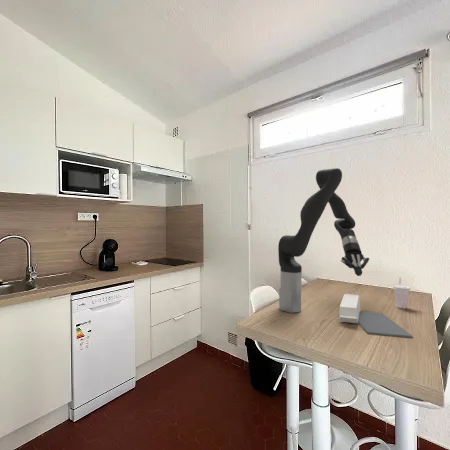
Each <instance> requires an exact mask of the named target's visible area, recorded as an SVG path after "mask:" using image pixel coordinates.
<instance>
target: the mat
mask: <svg viewBox="0 0 450 450" xmlns="http://www.w3.org/2000/svg"><path fill="white" fill-rule="evenodd" d="M357 324H358V325H359V326H360V328H362V330H363V331H364V332H365V333H366V334H367V335H373V336H376V335H377V336H384V337H385V336H386V337H387V336H389V337H396V338H397V337H399V338H409V339H410V338H411V339H412V338H414V337H413V335H412V334H411V333H409V332H408V331H407V330H406V329H404V328H403V327H401V326H400V325H399V324H398V323H396V322H395V321H393V319H392V318H390V317H388V316H387V315H386V314H384V313H382V312H371V311H369V312H368V311H360V313H359V319H358V323H357Z"/></svg>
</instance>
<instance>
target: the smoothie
mask: <svg viewBox="0 0 450 450" xmlns="http://www.w3.org/2000/svg"><path fill="white" fill-rule="evenodd" d="M398 279H399V281H398V282H399V284H395V285H393V286H392V287H393V290H394V292H393V293H394V297H395V305H396V308H398V309H404V310H405V309H407V306H408V299H409V292H410V291H411V287H409V286H407V285H402V277H401V276H400V277H399V278H398Z"/></svg>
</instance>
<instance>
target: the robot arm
mask: <svg viewBox="0 0 450 450" xmlns="http://www.w3.org/2000/svg"><path fill="white" fill-rule="evenodd" d="M342 178H343V172H342V170H341V169H340V168H338V167H330V168H322V169H319V170H318V171H316V175H315V181H316V185H317V186H318V188H319V189H318V191H316V192H315V193H313V194H312V195H311V196H309V197H308V198H307V199H306V201H305V202H304V204H303V206H302V208H301V210H300V223H301V224H300V227H299V229H298V230H297V233H296V234H295V235H288V234H287V235H285V234H284V235H283V236H282V237H281V238H280V239H279V241H278V246H277V247H278V249H277V251H278V252H277V253H278V254H277V255H278V265H279V267H280V273H279V274H280V276H279V277H280V282H279V284H280V285H279V287H280V288H279V290H278V291H279V295H278V296H279V299H278V305H279V306H278V307H279V308H278V309H279V310H280V311H283V312H287V313H289V314H294V313H300V312H301V311H302V272H303V270H302V268H303V267H302V265H301V264H300V263H298V261H297V260H296V259H295V258H296V257H297V258H299V257H301V256H302V255H304V254H305V252H306V250H307V247H308V246H309V242H310V239H311V237H312V235H313V232H314V230H315V228H316V226H317V225H318V223H319V220H320V219H321V217H322V214H323V213H324V211H325V209H326V207H327V205H328V204H329V206H330V209H331V212H332V214H333V216H334V217H335V219H336V220H335V221H334V222H333V226H334V229H335V230H336V232H337V233H338V234H339V235H340V238H341V245H342V248H343V252H344V256H342V257H341V259H340V262H342V263H343V264H344V265H345V266H346V267H348V268H349V269H353V272H354V274H355V275H356V276H357V277H360V276H362V275H363V270H362V269H364V268H365V267H366V266H367V264H368V263H369V261H370V258H369V257H365V256H364V255H363V253H362V250H361V246H360V244H359V241H358V239H357V236H356V233H355V231H354V230H353V229H354V228H355V227H356V221H355V219H354V217H352V216H351V214H350V213H349V211H348V209H347V206H346V204H345V203H346V202H344V200H343V199H342V197H340V196H339V194H337V193H336V191H337V189H338V188H339V185H340V184H341V182H342ZM362 261H363V262H362Z"/></svg>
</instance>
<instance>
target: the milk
mask: <svg viewBox="0 0 450 450" xmlns="http://www.w3.org/2000/svg"><path fill="white" fill-rule="evenodd" d="M338 308H339V311H338V312H339V319H340V320H339V321H340V322H341V323H342V322H343V323H349V324H351V323H352V324H358V319H359V313H360V312H361V299H360V294H354V293H353V294H352V293H344V294H343V297H342V300H341V302H340V305H339V307H338Z"/></svg>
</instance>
